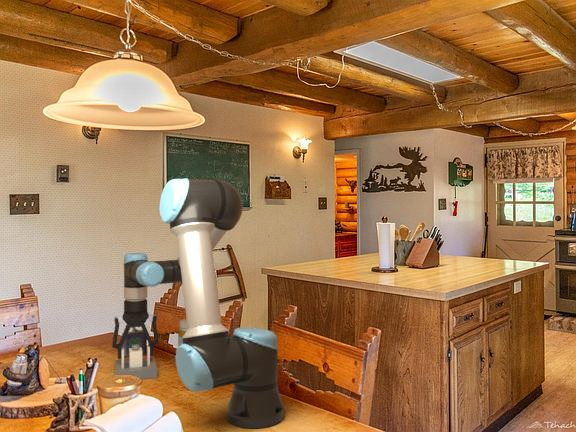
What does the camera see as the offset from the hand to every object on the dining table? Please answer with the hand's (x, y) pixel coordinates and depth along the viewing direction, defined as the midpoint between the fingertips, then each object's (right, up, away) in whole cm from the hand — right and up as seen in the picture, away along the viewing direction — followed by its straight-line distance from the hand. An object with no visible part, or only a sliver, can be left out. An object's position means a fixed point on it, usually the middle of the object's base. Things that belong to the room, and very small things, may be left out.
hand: (135, 366), depth 167 cm
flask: (-7, -2, +21) cm, 22 cm away
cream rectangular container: (0, -2, 0) cm, 2 cm away
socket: (0, -2, 0) cm, 2 cm away
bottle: (+15, -2, +13) cm, 20 cm away
